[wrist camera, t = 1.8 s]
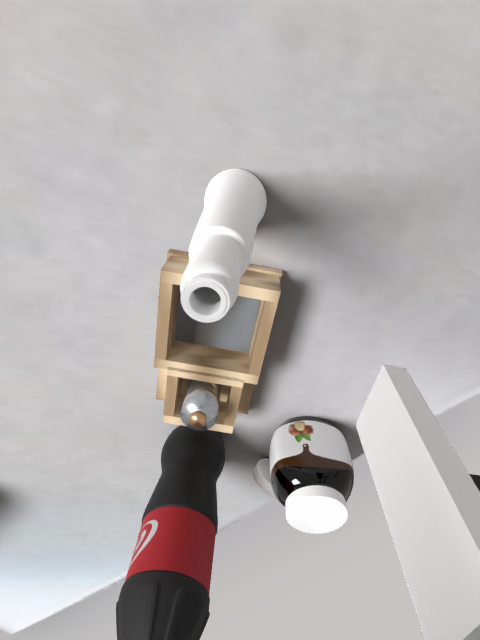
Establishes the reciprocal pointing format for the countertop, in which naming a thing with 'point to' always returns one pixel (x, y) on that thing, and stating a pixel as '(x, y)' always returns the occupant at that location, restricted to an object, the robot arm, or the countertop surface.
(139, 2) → the countertop surface
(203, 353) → the wooden frame
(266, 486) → the spread jar
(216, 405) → the grey cell
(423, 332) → the countertop surface
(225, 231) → the cosmetic bottle
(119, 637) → the cola bottle
